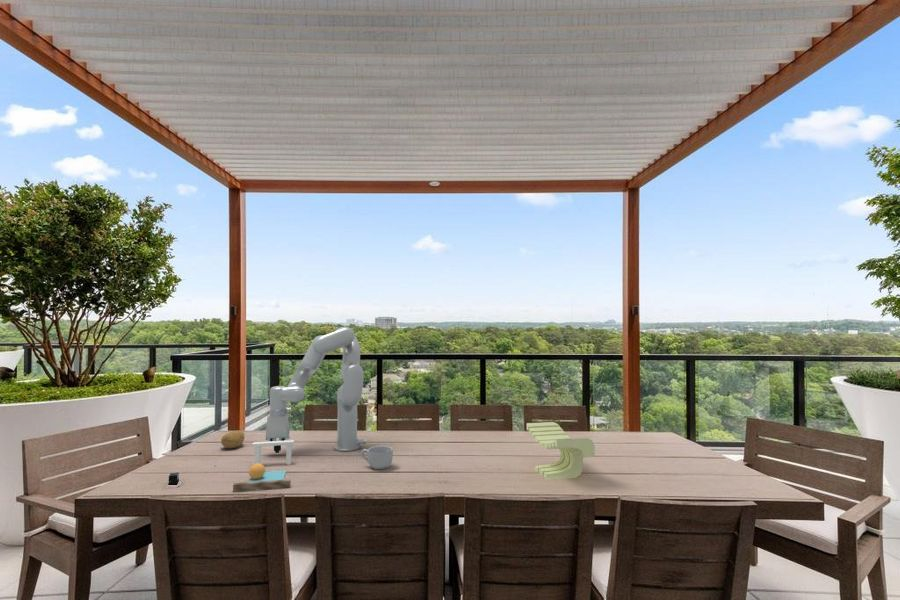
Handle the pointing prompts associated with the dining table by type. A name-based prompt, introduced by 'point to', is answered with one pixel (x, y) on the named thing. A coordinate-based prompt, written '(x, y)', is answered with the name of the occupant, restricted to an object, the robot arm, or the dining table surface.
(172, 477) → the black angular piece
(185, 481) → the dining table surface
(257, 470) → the ball
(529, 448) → the dining table surface
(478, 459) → the dining table surface
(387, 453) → the teacup
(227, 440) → the potato
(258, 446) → the bridge
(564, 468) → the green ribbed curved stand
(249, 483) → the stopper
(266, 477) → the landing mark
